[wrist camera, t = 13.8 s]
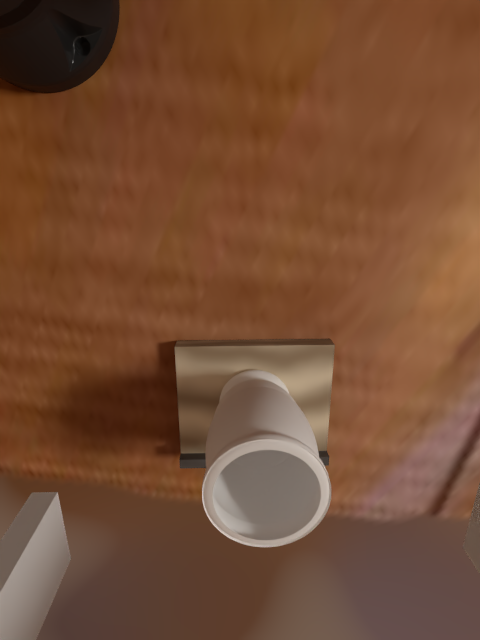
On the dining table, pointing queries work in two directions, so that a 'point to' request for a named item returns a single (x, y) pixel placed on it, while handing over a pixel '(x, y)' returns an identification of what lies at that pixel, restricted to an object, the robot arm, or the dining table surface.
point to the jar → (263, 465)
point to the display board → (243, 355)
